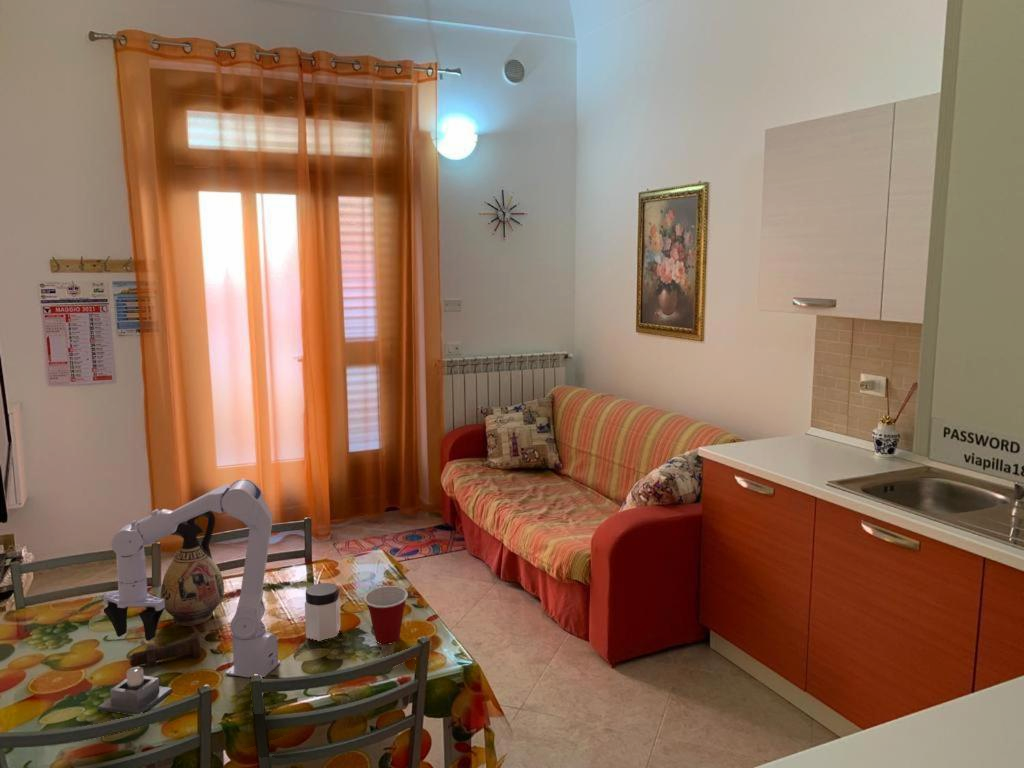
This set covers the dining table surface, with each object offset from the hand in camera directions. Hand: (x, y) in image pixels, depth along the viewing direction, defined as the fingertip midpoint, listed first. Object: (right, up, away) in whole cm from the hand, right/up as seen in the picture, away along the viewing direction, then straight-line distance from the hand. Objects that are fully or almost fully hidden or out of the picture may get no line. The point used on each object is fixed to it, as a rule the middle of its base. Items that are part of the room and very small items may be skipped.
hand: (136, 636), depth 169 cm
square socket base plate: (+4, -11, -8) cm, 14 cm away
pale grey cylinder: (+4, -10, -8) cm, 14 cm away
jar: (+36, -7, +23) cm, 44 cm away
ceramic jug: (+1, -6, +32) cm, 32 cm away
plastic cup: (+53, -8, +20) cm, 57 cm away
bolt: (+2, -9, +9) cm, 13 cm away
